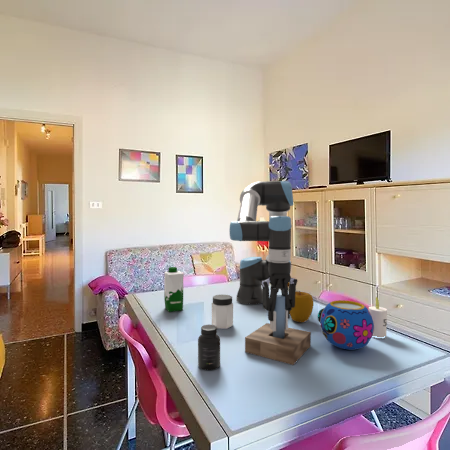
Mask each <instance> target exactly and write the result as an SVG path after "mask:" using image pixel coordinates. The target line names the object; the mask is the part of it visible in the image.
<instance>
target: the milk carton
mask: <svg viewBox="0 0 450 450" xmlns="http://www.w3.org/2000/svg"><path fill="white" fill-rule="evenodd" d="M163 282H164V296H163V297H164V308H165V310H167V312H168V313H171V312H179V311H180V312H181V311H184V273H183V272H182V271H180V270H178V267H176V266H169V267H168V271H164V281H163Z"/></svg>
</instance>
